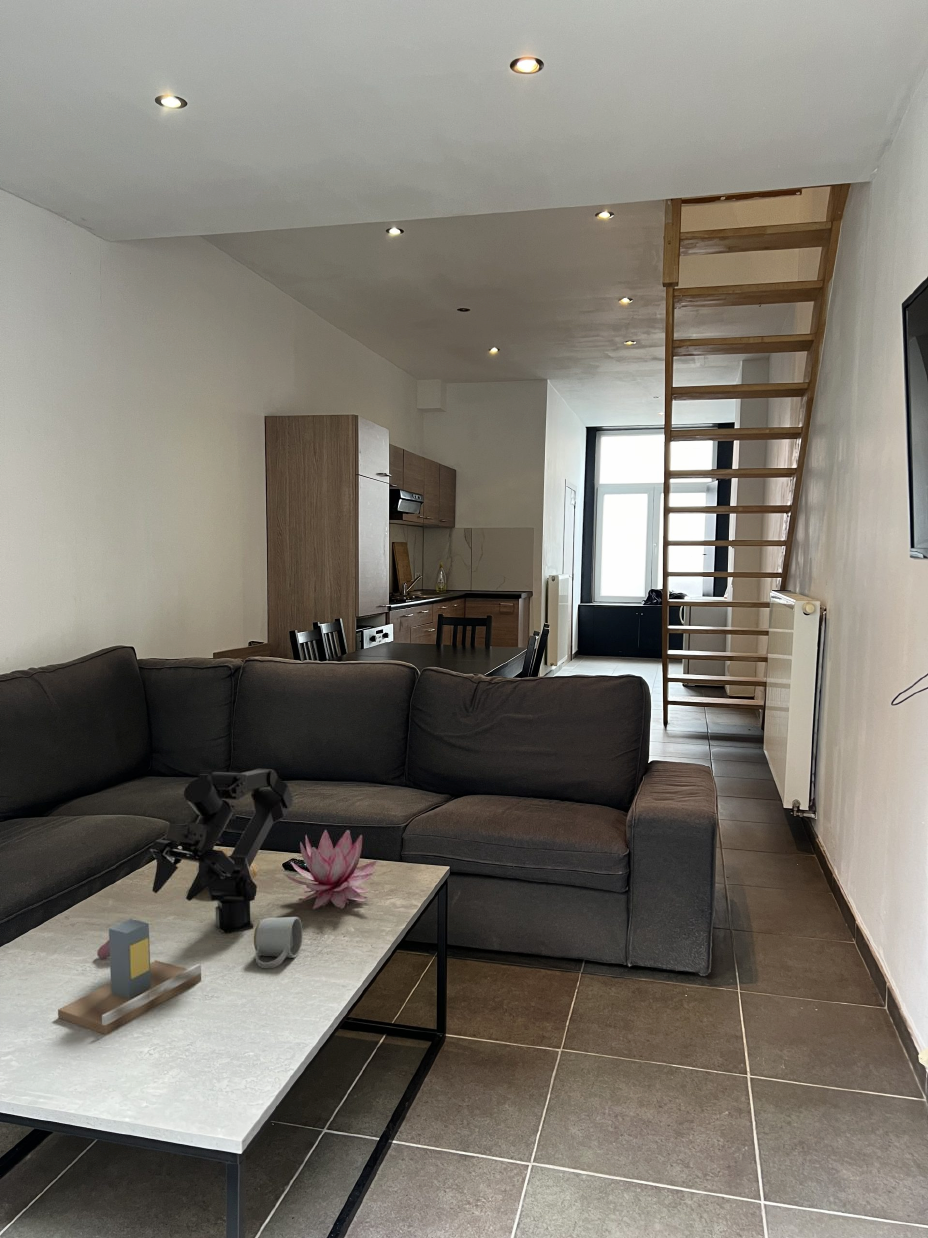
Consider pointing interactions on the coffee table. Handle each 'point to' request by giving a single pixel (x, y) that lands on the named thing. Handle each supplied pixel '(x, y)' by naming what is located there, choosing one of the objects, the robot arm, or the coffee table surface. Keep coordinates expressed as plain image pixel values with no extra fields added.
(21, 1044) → the coffee table surface
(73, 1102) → the coffee table surface
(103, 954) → the pink elongated piece
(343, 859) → the decorative flower
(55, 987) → the coffee table surface
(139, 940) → the tea tin
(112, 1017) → the board
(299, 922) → the ceramic mug
